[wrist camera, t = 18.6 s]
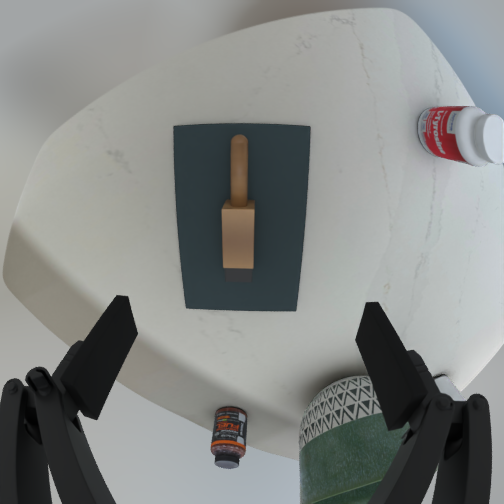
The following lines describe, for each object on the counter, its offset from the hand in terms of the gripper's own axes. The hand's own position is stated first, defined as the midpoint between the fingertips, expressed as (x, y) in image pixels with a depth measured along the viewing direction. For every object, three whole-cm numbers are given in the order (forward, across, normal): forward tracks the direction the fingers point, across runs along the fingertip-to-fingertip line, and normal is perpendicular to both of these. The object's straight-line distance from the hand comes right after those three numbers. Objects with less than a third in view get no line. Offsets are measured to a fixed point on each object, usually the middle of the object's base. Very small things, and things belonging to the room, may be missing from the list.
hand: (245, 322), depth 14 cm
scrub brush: (+17, -1, +2) cm, 17 cm away
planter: (+17, +17, -29) cm, 38 cm away
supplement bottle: (+17, -3, -36) cm, 40 cm away
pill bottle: (+18, +22, +13) cm, 31 cm away
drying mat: (+17, -1, 0) cm, 17 cm away
